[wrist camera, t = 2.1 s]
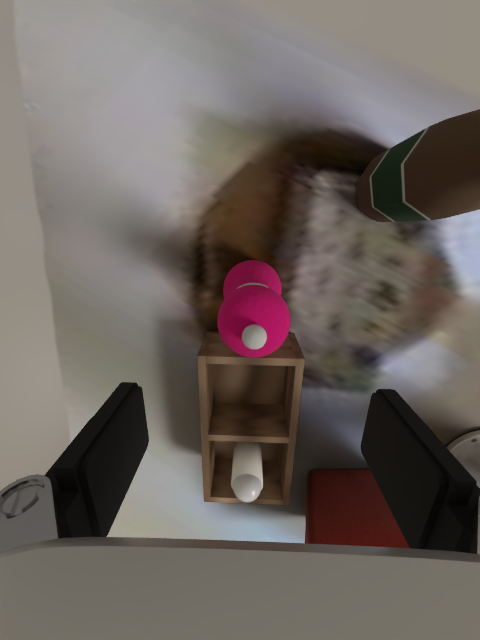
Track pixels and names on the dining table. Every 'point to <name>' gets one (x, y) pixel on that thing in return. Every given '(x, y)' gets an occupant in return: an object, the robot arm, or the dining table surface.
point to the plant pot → (349, 510)
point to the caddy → (249, 415)
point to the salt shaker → (247, 470)
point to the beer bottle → (425, 174)
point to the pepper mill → (253, 310)
